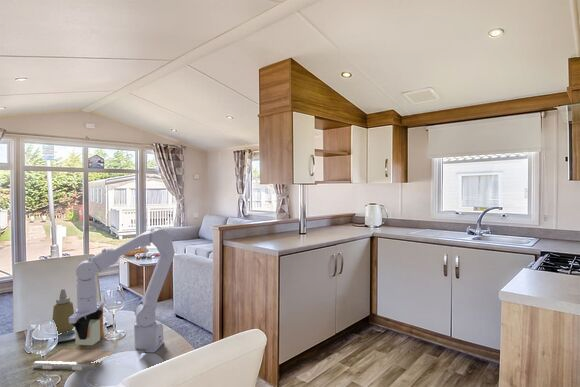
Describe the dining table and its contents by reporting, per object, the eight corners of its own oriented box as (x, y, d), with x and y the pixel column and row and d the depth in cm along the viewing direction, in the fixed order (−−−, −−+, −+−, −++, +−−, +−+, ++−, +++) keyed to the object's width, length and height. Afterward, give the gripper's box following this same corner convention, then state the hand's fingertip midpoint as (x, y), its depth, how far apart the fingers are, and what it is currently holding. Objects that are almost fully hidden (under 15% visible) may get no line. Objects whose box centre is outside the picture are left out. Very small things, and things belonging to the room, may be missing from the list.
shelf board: (115, 354, 117) (115, 346, 117) (91, 374, 104) (91, 365, 104) (62, 352, 119) (62, 345, 118) (32, 372, 106) (32, 363, 106)
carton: (83, 339, 115) (83, 319, 115) (100, 339, 115) (99, 319, 115) (75, 344, 111) (75, 324, 111) (92, 345, 111) (91, 324, 111)
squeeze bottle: (66, 337, 131) (65, 292, 131) (46, 337, 131) (45, 292, 131) (80, 328, 139) (79, 286, 139) (61, 329, 139) (60, 286, 139)
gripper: (90, 289, 120) (91, 326, 120) (59, 303, 106) (60, 345, 106) (108, 290, 120) (109, 327, 120) (80, 304, 105) (81, 346, 105)
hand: (87, 335), depth 113 cm, fingers closed on carton, 4 cm apart
